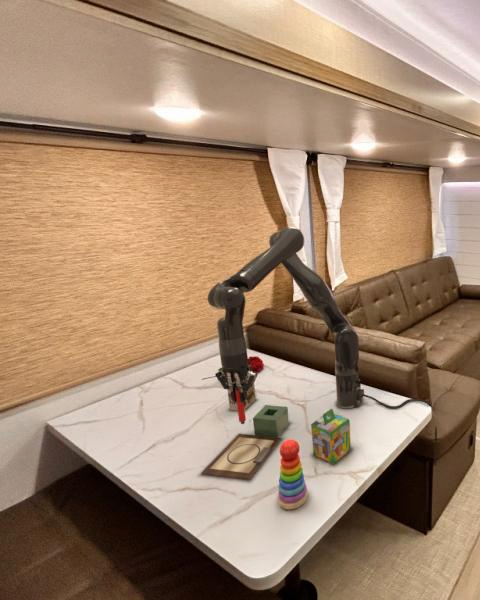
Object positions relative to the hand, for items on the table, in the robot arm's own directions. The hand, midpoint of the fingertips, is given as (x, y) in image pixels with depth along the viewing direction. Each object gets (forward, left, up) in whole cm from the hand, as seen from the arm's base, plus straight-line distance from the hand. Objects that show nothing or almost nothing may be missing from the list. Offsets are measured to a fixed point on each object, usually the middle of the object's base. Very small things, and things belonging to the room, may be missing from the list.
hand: (239, 400), depth 118 cm
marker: (0, 0, -8) cm, 8 cm away
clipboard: (0, +2, -19) cm, 19 cm away
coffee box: (+18, -27, -19) cm, 38 cm away
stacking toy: (-24, +17, -19) cm, 35 cm away
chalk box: (-28, -4, -19) cm, 34 cm away
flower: (+35, -49, -19) cm, 64 cm away
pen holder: (-2, -13, -19) cm, 23 cm away
